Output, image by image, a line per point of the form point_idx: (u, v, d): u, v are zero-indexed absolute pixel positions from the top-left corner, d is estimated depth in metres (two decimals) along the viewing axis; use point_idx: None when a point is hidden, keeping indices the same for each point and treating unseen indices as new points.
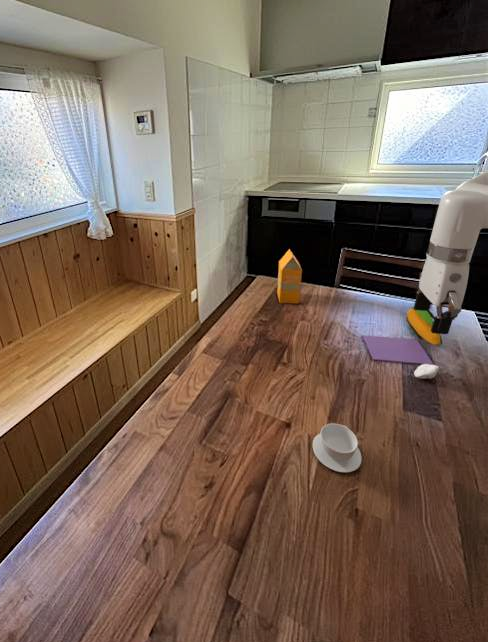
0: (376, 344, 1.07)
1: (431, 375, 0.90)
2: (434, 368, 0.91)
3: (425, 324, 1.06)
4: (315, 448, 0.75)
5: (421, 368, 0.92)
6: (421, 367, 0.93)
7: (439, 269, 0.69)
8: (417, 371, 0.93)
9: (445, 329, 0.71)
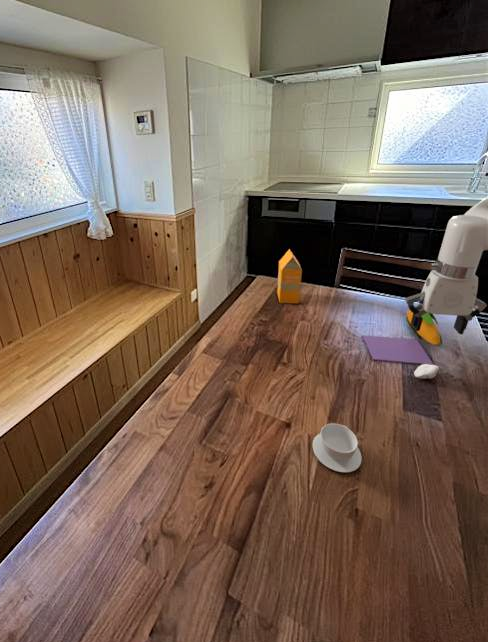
0: (376, 344, 1.07)
1: (431, 375, 0.90)
2: (434, 368, 0.91)
3: (425, 324, 1.06)
4: (315, 448, 0.75)
5: (421, 368, 0.92)
6: (421, 367, 0.93)
7: None
8: (417, 371, 0.93)
9: (413, 323, 0.86)
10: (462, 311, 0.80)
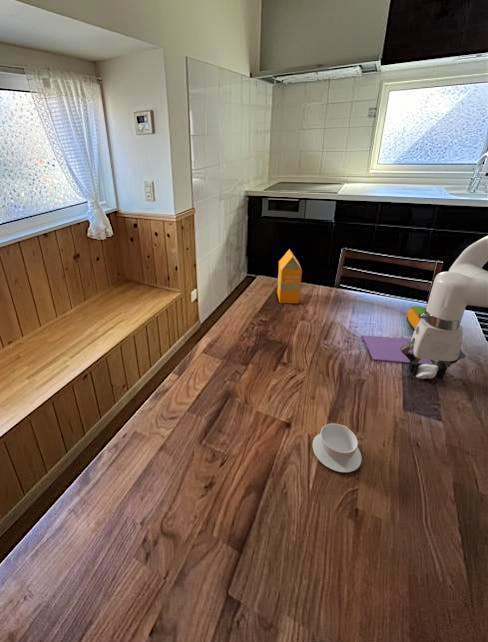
0: (376, 344, 1.07)
1: (431, 375, 0.90)
2: (434, 368, 0.91)
3: None
4: (315, 448, 0.75)
5: (421, 368, 0.92)
6: (421, 367, 0.93)
7: None
8: (417, 371, 0.93)
9: (410, 369, 0.93)
10: (449, 357, 0.87)
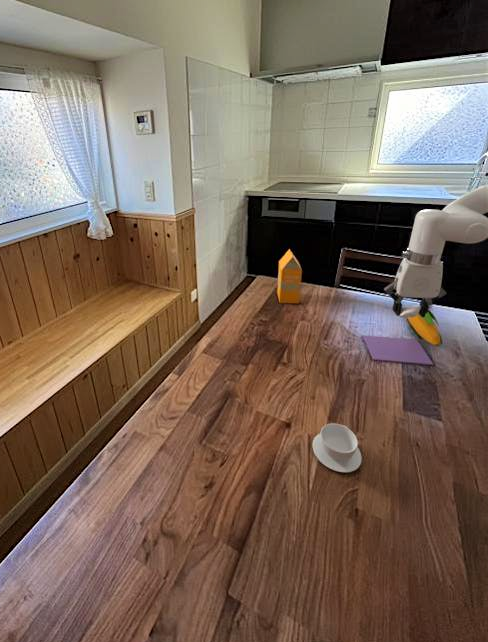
0: (376, 344, 1.07)
1: (414, 313, 0.94)
2: (417, 306, 0.95)
3: (425, 324, 1.06)
4: (315, 448, 0.75)
5: (404, 307, 0.96)
6: (404, 307, 0.97)
7: None
8: (401, 311, 0.97)
9: (394, 309, 0.97)
10: (430, 294, 0.91)
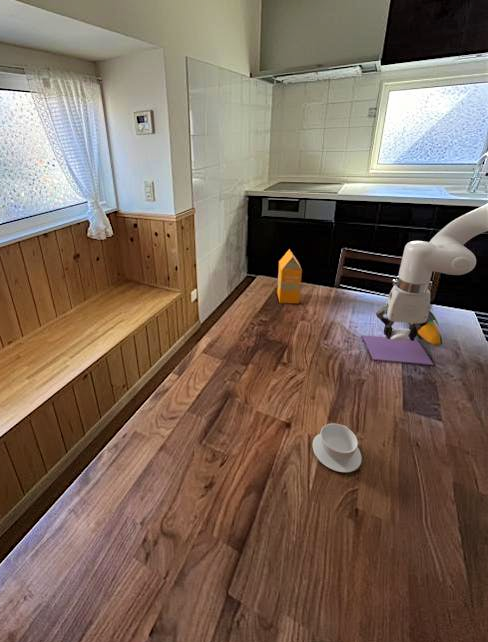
0: (376, 344, 1.07)
1: (403, 337, 0.99)
2: (406, 331, 1.00)
3: None
4: (315, 448, 0.75)
5: (395, 331, 1.01)
6: (395, 330, 1.02)
7: None
8: (391, 334, 1.02)
9: (385, 332, 1.02)
10: (418, 320, 0.96)
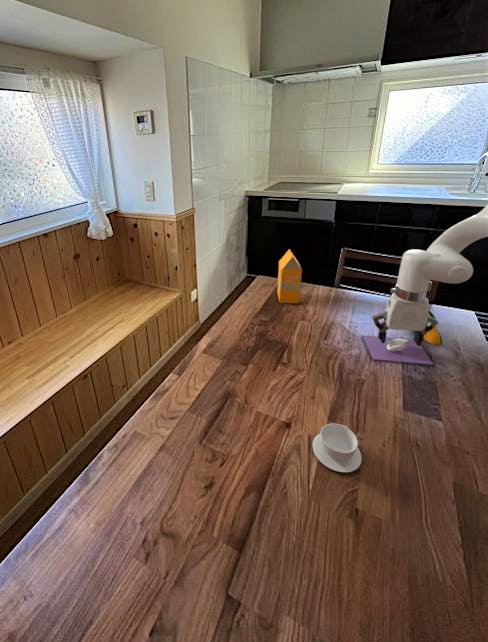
0: (376, 344, 1.07)
1: (401, 347, 1.00)
2: (404, 341, 1.01)
3: None
4: (315, 448, 0.75)
5: (392, 342, 1.03)
6: (392, 341, 1.03)
7: None
8: (389, 345, 1.03)
9: (379, 337, 1.03)
10: (417, 327, 0.97)
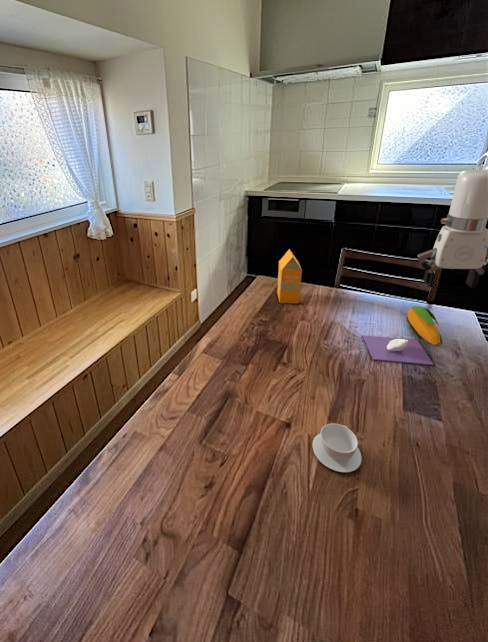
0: (376, 344, 1.07)
1: (401, 347, 1.00)
2: (404, 341, 1.01)
3: (425, 324, 1.06)
4: (315, 448, 0.75)
5: (392, 342, 1.03)
6: (392, 341, 1.03)
7: None
8: (389, 345, 1.03)
9: (425, 280, 0.89)
10: (474, 264, 0.83)
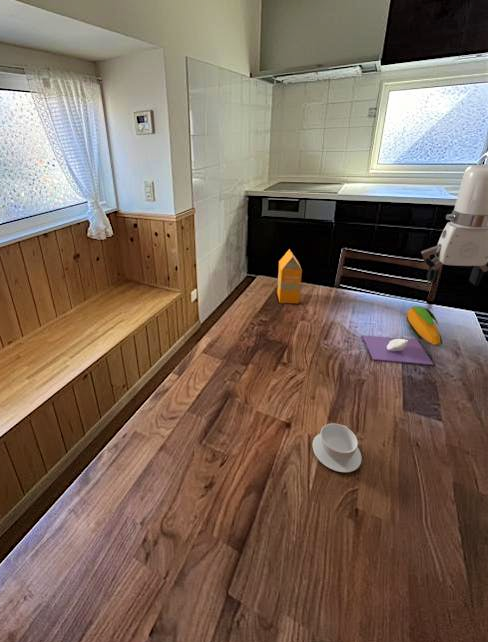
0: (376, 344, 1.07)
1: (401, 347, 1.00)
2: (404, 341, 1.01)
3: (425, 324, 1.06)
4: (315, 448, 0.75)
5: (392, 342, 1.03)
6: (392, 341, 1.03)
7: None
8: (389, 345, 1.03)
9: (429, 276, 0.88)
10: (478, 261, 0.82)
